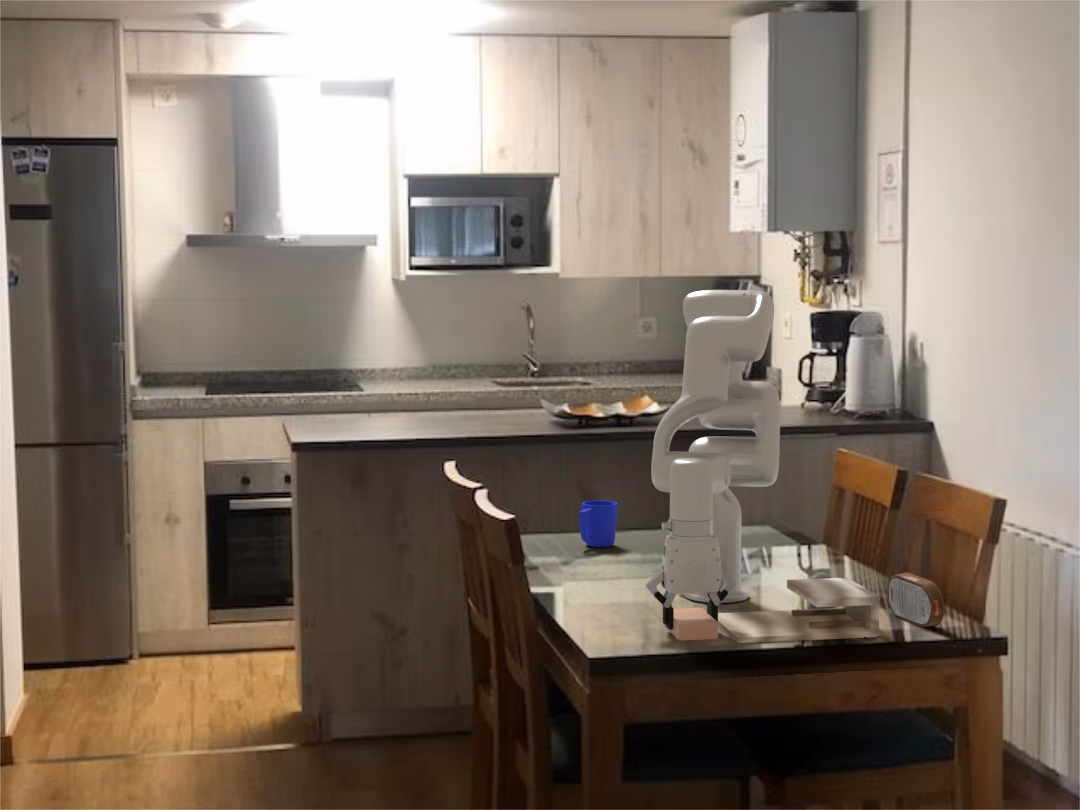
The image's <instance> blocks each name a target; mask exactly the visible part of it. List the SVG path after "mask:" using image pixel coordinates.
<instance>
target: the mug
mask: <svg viewBox="0 0 1080 810" xmlns="http://www.w3.org/2000/svg"><path fill="white" fill-rule="evenodd" d="M581 505H582V508H581V509H582V510H579V512H578V522H579V523H578V524H579V532H580V537H581V540H582V541H583V542H584V543H585V544H586V545H587V546H588V547H590V548H591V547H592V548H608V547H612V546H613V545H614V544H615V541H616V532H617V531H616V530H617V529H616V528H617V517H618V502H616V501H613V500H605V499H604V500H603V499H602V500H601V499H600V500H599V499H598V500H596V499H595V500H586V501H583V502H582V504H581Z"/></svg>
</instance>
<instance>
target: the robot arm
mask: <svg viewBox="0 0 1080 810" xmlns="http://www.w3.org/2000/svg"><path fill="white" fill-rule="evenodd" d="M682 312H683V317H684V321H685V324H686V327H687V328H686V329H687V330H686V335H685V347H684V348H685V350H684V358H683V359H684V361H683V374H682V385H681V387H682V389H681V395H680V397H679V398H678V400H677V401H676V402H675V403H674V404H673V405H672V406H671V407H669V409H668V410H667V411H666V412H665V414H664V415H663V416H662V417H661V420H660V422H659V423H658V425H657V428H656V430H655V433H654V436H653V437H654V438H653V447H652V456H651V469H650V470H651V471H650V472H651V473H650V474H651V482H652V484H653V486H654V488H655V489H656V490H658V491H660V492H662V493H663V492H664V493H669V517H668V520H667V521H666V522H661V530H662V531H666V532H668V534H667V535H666V536H665V540H664V545H663V553H662V559H661V560H662V562H661V568H660V569H661V570H660V571H659V572H658V573H656V575H654V576H653V577H652V578H651V579H650V580H648V581H647V582H646V584H645V588H646V589H647V590H648V591H649V593H651V595H652V596H653V597H654V598H655V599H656V600H657V601H658V602H659V603H660V604H661V605H662V623H663V625H664V624H665V625H666V627H667V628H668V629H669V630H672V629H673V618H674V609H675V608H674V607H673V606H672V605H673V602H674V599H675V598H676V596H677V595H683V596H684V597H685V598H686V599H688V600H691V601H695V602H700V603H707V604H706V612H707V613H708V614H709V615H710V616H711V617H713V618H714V619H715V620H716V621H717V622H718V613H719V606H721V604H725V603H726V604H728V603H738V602H741V601H745V600H747V599H748V598H749V591H748V589H746V588H744V587H742V586H741V584H742V583H741V581H742V579H741V578H742V577H741V576H742V575H741V573H742V507H741V505H740V502H739V500H738V499H737V497H736V496H735V495H734V493H733V492H732V491H731V489H730V487H752V488H757V487H759V488H765V487H770V486H773V485H774V484H775V483H776V481H777V479H778V476H779V470H780V469H779V468H780V445H781V443H780V441H781V403H780V395H779V392H778V390H777V388H776V386H775V385H773V384H772V383H770V382H768V381H759V380H758V381H757V380H755V381H752V380H751V381H750V380H749V381H748V380H744V379H743V362H744V363H745V362H747V363H754V362H758V361H759V360H761V359H762V358H763V356H764V354H765V351H766V349H767V345H768V342H769V339H770V334H771V331H772V327H773V323H774V318H775V304H774V300H773V298H772V296H771V295H770V294H769V293H768V292H766V291H763V290H758V289H757V290H754V289H753V290H752V289H745V290H744V289H705V290H704V289H702V290H697V291H693V292H690V293H688V294H687V295H685V298H684V299H683V302H682ZM696 418H698V420H699V422H700V424H701V425H702V426H704V427H706V428H708V429H712V430H713V429H714V430H730V431H731V430H733V431H752V432H754V433H755V436H756V437H747V436H746V437H745V436H741V437H740V436H725V435H723V436H721V435H714V436H713V435H712V436H711V435H709V436H703V437H699V438H698V439H696V440H694V441H693V442H692V443H691V444H690V447H689V449H688V451H673V450H672V451H670V447H671V442H672V439H673V437H674V435H675V433H676V432H678V430H679V428H681V427H682V426H683V425H685V424H686V423H688V422H689V421H691V420H693V419H696ZM660 583H661V586H662V588H664V589H665V591H664V593H663V594H662V593H661V592H660V591H659V589H658V588H657V587H658V586H659V585H660ZM666 627H665V628H666ZM667 628H666V629H667ZM668 629H667V630H668ZM669 630H668V631H669Z"/></svg>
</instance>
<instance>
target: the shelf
mask: <svg viewBox="0 0 1080 810" xmlns="http://www.w3.org/2000/svg"><path fill="white" fill-rule="evenodd" d="M786 588H787V589H788V590H790V591H791V592H792V593H794V594H796V595H797V596H798V597H800V598H802V600H803V599H804V600H805V601H806V602H808V603H809V604H811V605H813V606H814V607H816V608H805V609H804V608H802V609H799V608H798V609H789V610H767V611H765V610H763V611H761V610H760V611H740V612H718V629H720V630H721V631H723V632H724V633H725V634H726V635H727V636H729V637H730V639H732V640H733V641H734V642H736V643H737V644H748V643H749V644H752V643H754V644H755V643H769V642H770V643H773V642H794V641H795V642H796V641H798V642H799V641H816V640H818V641H819V640H820V641H821V640H838V639H839V640H841V639H860V638H864V637H867V638H879V637H878V636H885V635H884V633H885V631H884V630H883V629H881V628H880V596H879V595H878V594H876V593H874V592H872V590H871V591H870V589H868V588H866V587H864V586H862V585H861V584H859V583H857V582H855V581H853V580H851V579H849V578H848V577H826V578H825V577H824V578H798V579H787V580H786Z"/></svg>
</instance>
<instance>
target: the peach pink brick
mask: <svg viewBox="0 0 1080 810" xmlns="http://www.w3.org/2000/svg"><path fill="white" fill-rule="evenodd" d="M673 609H674V618H673V629H672V630H669V629H668V628H667V627H666V625H665V624H663V627H664V628H666V629H667V630H668V632H670V633H671V635H673V636H674V637H675V639H676V640H678V641H679V642H681V641H700V640H701V641H704V640H719V627H718V622H717V621H716V620H715V619H714V618H713V617H711V616H710V615H709V614H708V613H707V610H705V609H704V608H702V607H692V608H689V607H687V608H686V607H685V608H673Z"/></svg>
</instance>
